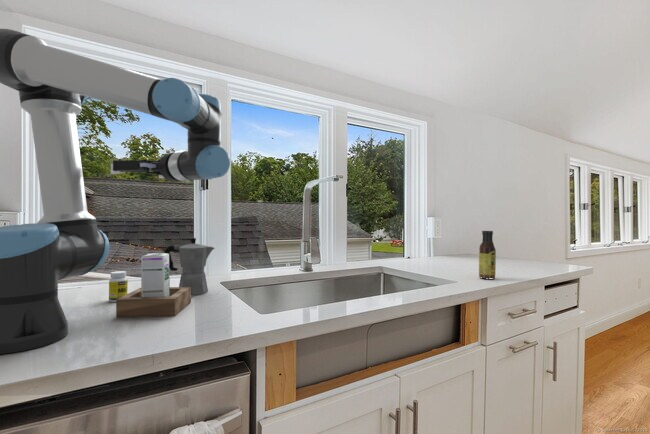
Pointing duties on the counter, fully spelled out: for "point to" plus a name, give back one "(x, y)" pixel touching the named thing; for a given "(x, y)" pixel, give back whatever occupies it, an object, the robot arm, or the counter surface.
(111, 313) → the counter surface
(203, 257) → the coffeepot
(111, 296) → the supplement bottle
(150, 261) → the syrup box
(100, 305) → the counter surface
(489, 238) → the sauce bottle
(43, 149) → the robot arm
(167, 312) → the open brown wooden box
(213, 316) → the counter surface
